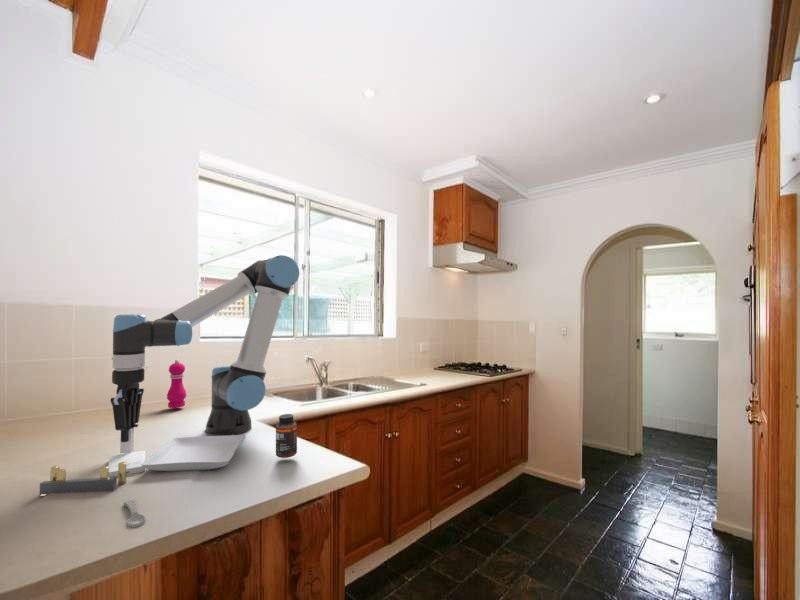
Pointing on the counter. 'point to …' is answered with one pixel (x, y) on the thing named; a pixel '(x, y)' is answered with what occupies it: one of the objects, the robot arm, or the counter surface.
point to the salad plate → (194, 453)
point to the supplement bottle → (286, 436)
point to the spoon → (134, 514)
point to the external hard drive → (127, 463)
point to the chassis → (82, 481)
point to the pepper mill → (176, 386)
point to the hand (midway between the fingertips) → (126, 451)
